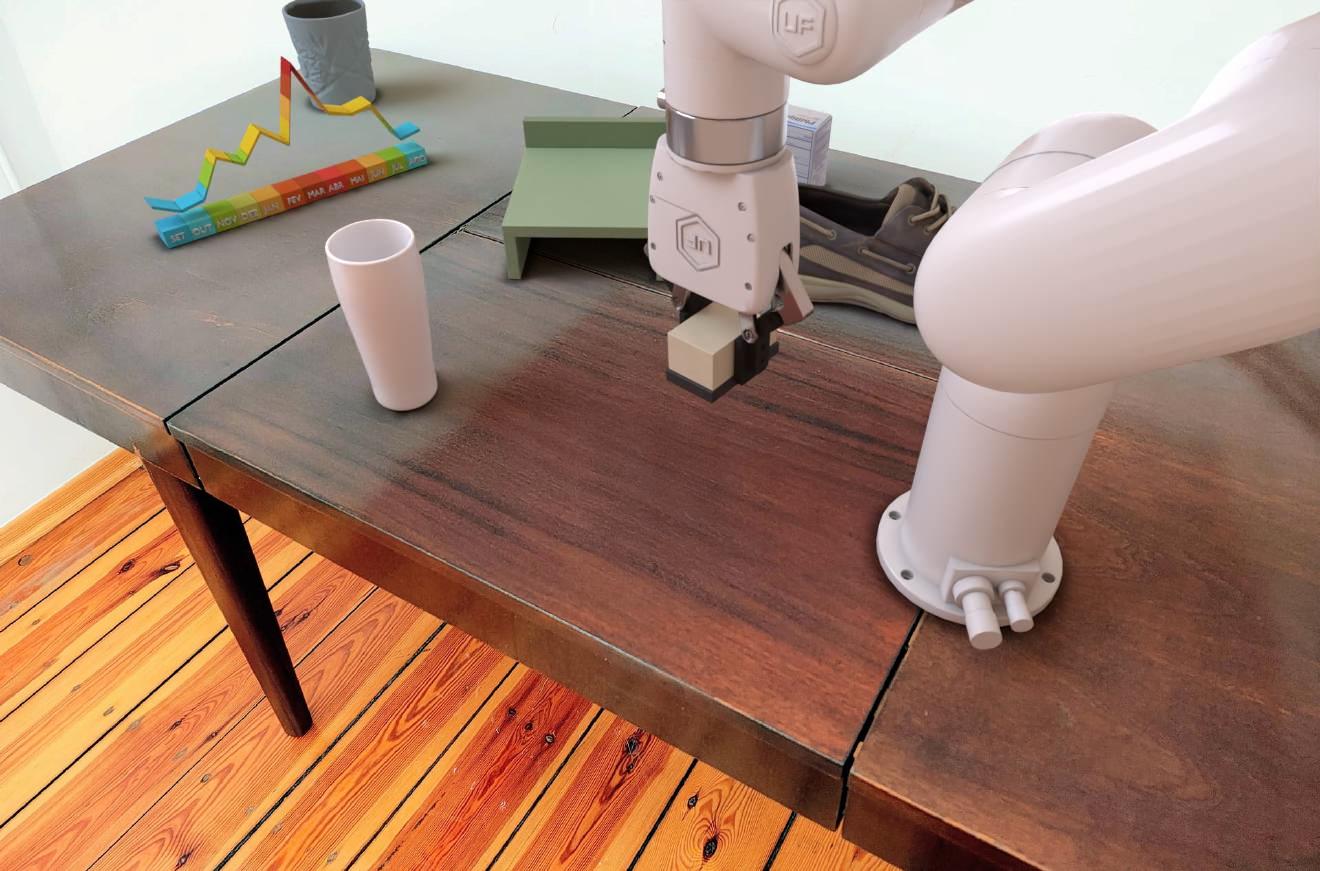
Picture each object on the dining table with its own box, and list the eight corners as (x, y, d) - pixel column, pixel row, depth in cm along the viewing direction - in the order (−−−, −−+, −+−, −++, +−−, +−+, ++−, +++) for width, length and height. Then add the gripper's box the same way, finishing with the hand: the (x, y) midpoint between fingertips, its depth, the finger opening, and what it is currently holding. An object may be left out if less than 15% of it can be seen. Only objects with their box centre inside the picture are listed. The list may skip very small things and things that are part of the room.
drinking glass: (409, 430, 77) (369, 274, 66) (350, 402, 79) (303, 248, 69) (463, 385, 81) (434, 232, 71) (405, 360, 83) (369, 209, 73)
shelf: (668, 281, 93) (668, 199, 87) (508, 279, 93) (497, 197, 87) (672, 193, 106) (672, 117, 100) (532, 192, 106) (524, 116, 100)
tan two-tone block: (712, 404, 67) (712, 356, 64) (666, 380, 69) (664, 333, 66) (778, 352, 71) (781, 306, 68) (733, 331, 73) (734, 286, 71)
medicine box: (825, 187, 107) (834, 113, 101) (808, 203, 104) (816, 129, 98) (764, 170, 110) (769, 98, 104) (746, 185, 107) (750, 112, 101)
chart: (169, 249, 98) (112, 110, 88) (160, 237, 100) (102, 99, 89) (428, 164, 112) (404, 36, 102) (415, 155, 114) (390, 28, 103)
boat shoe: (1057, 345, 84) (1093, 241, 77) (737, 310, 89) (742, 208, 82) (1045, 280, 92) (1077, 180, 85) (751, 251, 97) (758, 153, 90)
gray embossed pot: (293, 111, 123) (267, 16, 115) (326, 81, 131) (303, -10, 123) (366, 116, 122) (344, 21, 114) (394, 85, 129) (376, -6, 121)
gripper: (587, 112, 60) (607, 343, 72) (803, 185, 51) (785, 435, 63) (664, 77, 64) (671, 301, 76) (876, 139, 55) (846, 382, 67)
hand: (723, 360), depth 70 cm, fingers closed on tan two-tone block, 4 cm apart
